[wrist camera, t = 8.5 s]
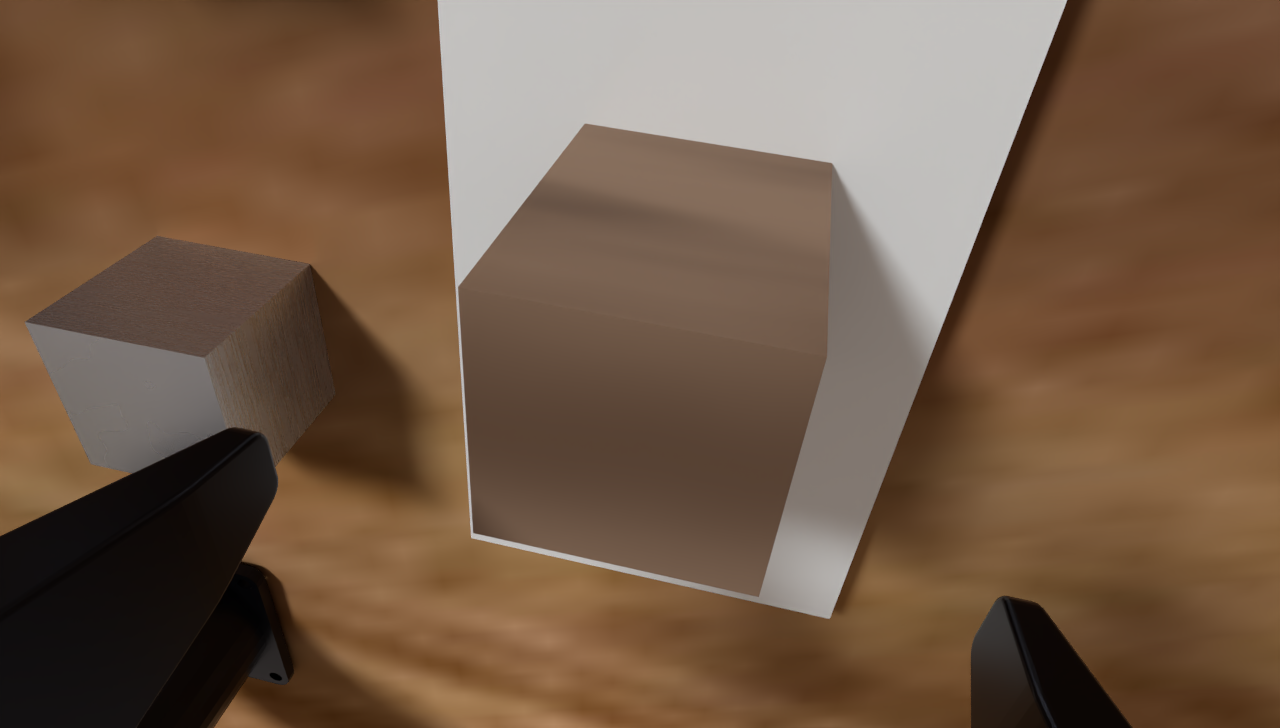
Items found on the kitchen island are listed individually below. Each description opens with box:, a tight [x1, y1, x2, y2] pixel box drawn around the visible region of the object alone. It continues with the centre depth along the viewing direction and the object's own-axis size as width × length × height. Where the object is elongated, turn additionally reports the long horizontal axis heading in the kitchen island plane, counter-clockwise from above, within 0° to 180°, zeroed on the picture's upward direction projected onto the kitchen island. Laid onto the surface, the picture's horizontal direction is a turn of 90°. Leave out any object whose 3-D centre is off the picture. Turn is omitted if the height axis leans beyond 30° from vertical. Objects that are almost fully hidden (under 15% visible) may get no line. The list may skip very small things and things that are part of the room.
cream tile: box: [438, 0, 1067, 619], centre depth 16 cm, size 20×10×1 cm, turn 175°
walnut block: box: [458, 124, 832, 597], centre depth 13 cm, size 4×4×6 cm
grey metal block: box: [25, 236, 336, 473], centre depth 19 cm, size 4×4×4 cm
